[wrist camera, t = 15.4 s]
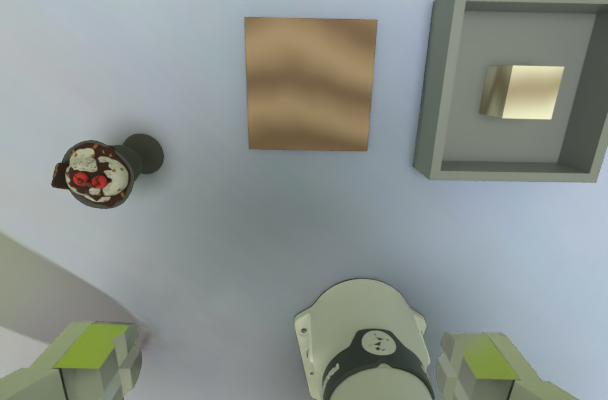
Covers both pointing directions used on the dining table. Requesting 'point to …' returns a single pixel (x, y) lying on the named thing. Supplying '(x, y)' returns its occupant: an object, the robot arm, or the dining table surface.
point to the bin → (520, 52)
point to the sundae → (106, 169)
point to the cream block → (520, 91)
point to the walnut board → (309, 83)
